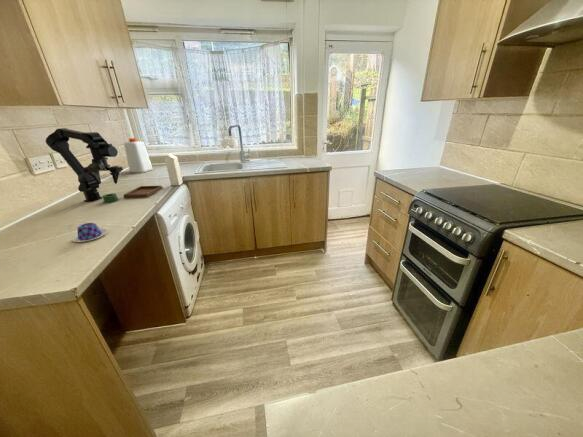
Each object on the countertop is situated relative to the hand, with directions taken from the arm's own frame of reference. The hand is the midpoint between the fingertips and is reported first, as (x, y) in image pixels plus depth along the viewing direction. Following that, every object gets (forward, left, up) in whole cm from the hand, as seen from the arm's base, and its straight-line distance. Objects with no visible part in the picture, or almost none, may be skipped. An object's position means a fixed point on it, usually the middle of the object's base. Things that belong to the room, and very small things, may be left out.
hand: (108, 183), depth 141 cm
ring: (-1, 0, -10) cm, 10 cm away
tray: (+11, +14, -10) cm, 20 cm away
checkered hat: (+22, -46, -10) cm, 52 cm away
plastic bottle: (-29, +81, -10) cm, 86 cm away
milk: (+24, +33, -10) cm, 42 cm away
